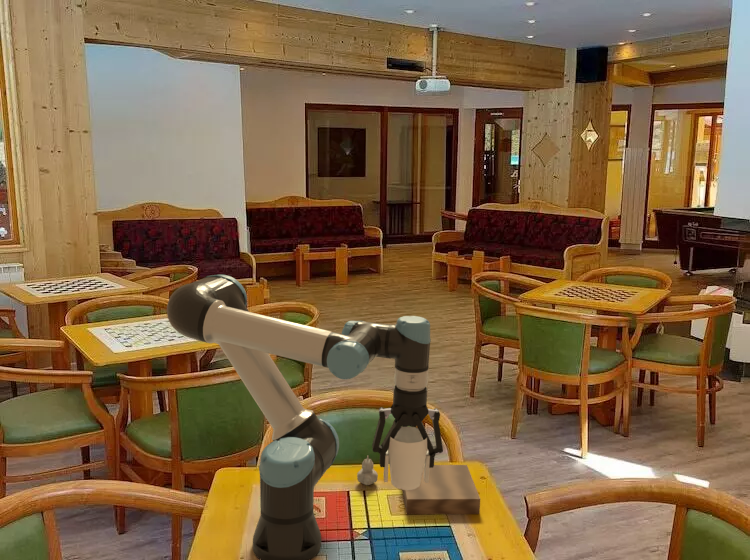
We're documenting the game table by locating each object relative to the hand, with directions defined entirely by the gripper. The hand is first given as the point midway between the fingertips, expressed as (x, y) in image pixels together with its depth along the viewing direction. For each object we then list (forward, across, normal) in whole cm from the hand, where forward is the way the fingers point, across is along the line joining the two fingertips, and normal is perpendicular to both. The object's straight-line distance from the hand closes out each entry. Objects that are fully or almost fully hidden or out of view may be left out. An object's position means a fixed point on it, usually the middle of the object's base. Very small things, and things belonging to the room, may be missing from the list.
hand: (405, 479), depth 155 cm
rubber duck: (+14, -7, +23) cm, 28 cm away
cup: (+1, 0, 0) cm, 1 cm away
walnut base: (+13, +10, +17) cm, 24 cm away
